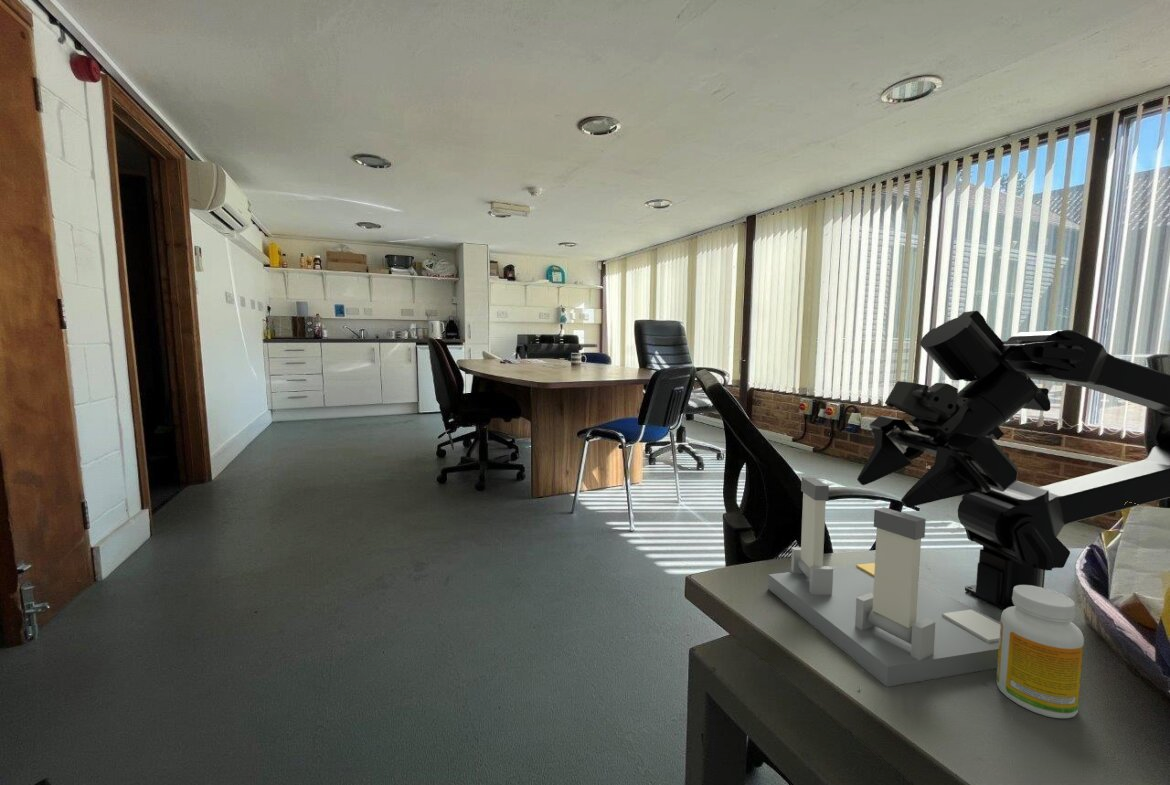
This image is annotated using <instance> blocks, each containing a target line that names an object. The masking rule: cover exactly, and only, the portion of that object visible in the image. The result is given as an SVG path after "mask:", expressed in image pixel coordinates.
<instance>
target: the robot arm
mask: <svg viewBox="0 0 1170 785" xmlns="http://www.w3.org/2000/svg"><path fill="white" fill-rule="evenodd" d="M919 345H920V347H922V349H923V350H924V351H925V352H926V354H928V356H929V357H930V358H931V359H932V360H933V362H935V363H936V365H937V366H938V367H940V370H942V371H943V372H944V374H945V375H946V376H947V377H948V378H949V379H950V380H951V381H952V380H953V381H965V382H969V383H967V384H966V385H964V386H963V388H961V390H959V389H958V388H957V387H955V386H953V385H951V384H949V383H945V382H935V383H934V384H932V385H931V386H929V385H927V384H920V383H918V382H912V381H911V382H910V381H901V380H899V381H898V380H897V381H896V383H895V384H894V386H893V387H892V389H891V392H890V393H889V395H888V397H887V398H886V400H885V401H884V404H885V405H886V406H888V407H890V408H895V409H898V410H899V411H901V412H903V413H905V414H906V415H908V416H911V417H910V418H908V421H909V422H910V423H911V425H912V426H913V427H915V428H917V429H918V430H917V431H916V432H915V430H914V429H913V428H912V427H911V426H910V425H909V423H908V422H906V420H905V419H902V418H898V417H893V416H889V415H888V416H887V415H885V416H884V415H879V416H878V417H876V418H875V419H874V420H873V421H872V422H871V423H870V424H869V428H870V429H871V433H870V434H871V435H872V436H873V438H874V441H873V442H874V446H873V448H872V451H871V453H870V455H869V457H868V459H867V461H866V462H865V464H864V466H863V467H862V470H861V471H860V473H859V474H858V476H857V479H856V480H857V482H858V483H859V484H860V485H861V486H866V485H869V484H871V483H873V482H875V481H879V480H880V479H883V478H885V477H887V476H888V475H891V474H892V473H895V472H897V471H899V470H902V469H904V468H906V467H908V466H911V465H912V462H911V461H912V460H915V459H918V458H919V457H920V456H922V455H923V454H924V453H925V452H926V453H929V454H932V455H935V458H934V464H933V465H932V466H931V468H930V469H928V470H927V471H926V473H924V474H923V475H922V476H921V477H920V478H919V479H918V480H917V482H916V483H914V485H912V486H911V487H910V488H909V489H908V491H906V493H905V494H904V495H903V497H902V498H901V499H900V501H901V503H902V504H903V505H904V506H905V507H907V508H914V507H917V506H921V505H925V504H930V503H933V502H936V501H941V500H946V499H950V498H954V497H959V496H962V497H961V500H960V502H959V504H958V508H957V518H958V520H959V524H961V525H962V526H963V527H964V531H965V534H966V538H967V540H969V541H970V542H974V543H976V544H978V545H980V546H982V548H981V549H979V555H978V556H979V560H978V562H977V568H976V569H977V570H976V579H975V580H976V581H975V582H976V583H975V584H970V585H965V586H964V590H965V592H968V593H970V594H971V595H974V596H975V597H978V598H979V599H982V600H984V601H985V602H988V603H990V604H991V605H994V606H996V607H998V608H1000V609H1002V610H1003V611H1004V610H1005V609H1006V608H1008V607H1012V606H1015V605H1014V604H1013V601H1012V596H1013V588H1014V587H1015V586H1017V585H1031V586H1037V587H1042V588H1045V575H1046V571H1053V569H1063V568H1064V567H1065V565H1066V564H1067V561H1068V559H1069V558H1070V555H1071V551H1070V549H1069V548H1067V546H1066V545H1065V544H1063V542H1062V541H1060V539H1059V538H1058V535H1059V534H1060V532H1061V531H1062V529H1063V528H1064V526H1066V525H1070V524H1073V523H1076V522H1080V521H1084V520H1087V519H1091V518H1095V517H1099V516H1103V515H1106V514H1107V515H1108V514H1112V513H1115V512H1118V511H1122V510H1127V509H1131V508H1135V507H1138V506H1139V507H1140V506H1142V505H1146V504H1150V503H1154V502H1157V501H1161V500H1166V499H1170V373H1167V372H1163V371H1159V370H1156V369H1154V368H1150V367H1147V366H1145V365H1140V364H1137V363H1135V362H1131V361H1129V360H1125V359H1122V358H1119V357H1116V356H1114V355H1112V354H1111V353H1109V352H1107V350H1106V349H1105V347H1104V345H1103V344H1102V343H1101V342H1099V341H1097V340H1096V339H1093V338H1091V337H1089V336H1087V335H1086V334H1084V333H1082V332H1079V331H1078V330H1074V329H1059V330H1040V331H1039V330H1037V331H1021V332H1017V333H1016V334H1014V335H1012V336H1010V338H1008V339H1007V340H1005V341H1004V340H1002V339H1001V338H1000V337H999V336H998V335H997V333H996V332H995V331H994V330H993V328H991V326H990V325H989V324H988V323H987V320H986V319H985V317H984V315H982V314H981V313H980V311H979V310H970V311H964V312H962V313H961V314H959V316H957V317H956V318H953V319H950V320H948V321H946V322H944V323H942V324H940V325H938V326H937V327H934V328H932V329H930V330H929V331H928V332H926V334H924V336H923V337H922V338H921V340H920V342H919ZM1033 380H1038V381H1046V382H1047V381H1048V382H1055V383H1056V382H1057V383H1065V384H1071V385H1076V386H1080V387H1082V388H1086V389H1089V390H1092V391H1096V392H1099V393H1102V394H1105V395H1107V396H1108V395H1109V396H1111V397H1114V398H1118V399H1121V400H1124V401H1126V402H1130V403H1133V404H1136V405H1140V406H1142V407H1147V408H1148V409H1152V410H1153V411H1154V413H1155V415H1156V421H1155V422H1154V426H1153V429H1152V431H1151V434H1150V435H1151V440H1152V442H1153V444H1154V447H1152V448H1151V450H1150V451H1149V452H1148V454H1147V456H1146V458H1144V459H1142V460H1138V461H1134V462H1131V463H1126V464H1123V465H1120V466H1115V467H1112V468H1108V469H1103V470H1099V471H1096V472H1092V473H1089V474H1085V475H1081V476H1077V477H1073V478H1070V479H1066V480H1061V481H1057V482H1053V483H1051V484H1046V485H1043V486H1035V485H1031V484H1028V483H1025V482H1021V481H1019V480H1018V473H1019V468H1018V466H1017V465H1016V464H1015V463H1014V462H1013V461H1012V459H1011V458H1010V457H1009V456H1008V455H1007V454H1006V453H1005V451H1004V450H1003V449H1002V448H1001V447H1000V446H999V445H998V444H997V443H996V441H997V440H998V441H999V439H1001V438H1002V437H1003V436H1004V435H1005V433H1004V432H1003V431H1002V430H1001V429H1000V428H1001V426H1003V425H1004V424H1006V423H1007V422H1008V421H1009V420H1010V419H1011V418H1012V417H1014V416H1015V415H1016V414H1018V412H1019V411H1021V410H1022V409H1025V410H1026V409H1027V410H1033V411H1041V412H1048V411H1050V410H1051V400H1050V397H1049V391H1050V390H1049V389H1048V388H1046V387H1045V388H1044V387H1038V385H1036V383H1035V382H1034V381H1033ZM995 440H996V441H995ZM1127 501H1128V502H1127ZM1125 502H1127V503H1126V504H1125ZM1129 502H1132V503H1129ZM1134 503H1136V504H1134ZM1124 504H1125V505H1124ZM1137 504H1139V505H1137Z"/></svg>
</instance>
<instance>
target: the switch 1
mask: <svg viewBox="0 0 1170 785" xmlns="http://www.w3.org/2000/svg"><path fill="white" fill-rule="evenodd" d="M800 483H801V486H800V491H801V492H802V493H803V494H802V510H801V511H802V513H801V514H802V515H801V516H802V517H801V536H800V538H801V540H800V542H801V543H800V548H801V558H800V559H799V560H798V563H797V565H798V567H799V569H800V570H801V571H802V572H803V573H804V574H805V575H806V576H807V577H808V578H809V579H810V566H824V547H825V546H824V544H825V523H826V521H825V520H826V503H827V502H826V501H829V491H830V490H829V488H830V486H829V485H828V484H827V483H825V482H823V481H821V480H819V479H817V478H816V477H814V476H813V477H812V476H811V477H810V476H809V477H808V476H807V477H805V476H803V477H802V476H801V481H800Z"/></svg>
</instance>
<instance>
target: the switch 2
mask: <svg viewBox="0 0 1170 785" xmlns="http://www.w3.org/2000/svg"><path fill="white" fill-rule="evenodd" d="M873 511H874V513H873V514H874V515H873V527H874V528H875V529H876V535H875V554H874V555H875V556H874V557H875V558H874V563H875V571H874V591H873V609H872V610H871V611H870V613H869V617H868V619H869V623H870V624H872V625H874V626H876V627H878V628H880V629H882V630H884V631H886V632H888V633H890V634H892V635H894V636H896V637H898V638H900V639H902V640H903V641H905V642H907V643H909V644H911V640H912V624H914V623H916V617H917V600H918V583H919V580H920V578H919V577H920V563H921V561H920V560H921V546H922V539H923V538H925V537H926V534H925V533H926V521H927V520H926V518H924V517H923V518H922V517H919V516H915V515H913V514H908V513H906V512H902V511H899V510H894V509H891V508H887V507H880V508H879V507H878V508H876V509H874V510H873Z"/></svg>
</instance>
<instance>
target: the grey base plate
mask: <svg viewBox="0 0 1170 785" xmlns="http://www.w3.org/2000/svg"><path fill="white" fill-rule="evenodd" d="M800 558H801V546H799V547H798V546H797V547H795V546H793V547H791V564H790V565H791V566H790V567H791V568H790V571H789V572H788V571H787V572H779V573H771V574H770V573H769V574H768V590H769V591H770V592H771V593H773V595H775V596H776V597H778V599H780V600H781V602H784V603H785V604H786V605H787V606H788V607H789V608H791V609H792V610H793V611H795V612H796V613H797V614H798V615H800V617H801V618H803V619H804V620H806V622H808V624H810V625H811V626H813V628H815V629H816V630H818V631H819V633H821V634H822V635H824V637H826V638H827V639H828V640H830V642H832V643H833V644H834V645H835V646H836V647H838V648H839V650H841V651H842V652H843V653H845V654H846V655H848V656H849V657H850V658H851V659H852V660H853V661H855V663H857V664H859V666H861V667H862V668H863V669H864V670H866V671H867V672H868V673H869V674H870V675H872V676H873V677H874V678H875V679H876V680H877V681H879V682H880V683H881V684H882V685H884V686H885V687H887V688H888V687H893V686H900V685H905V684H906V685H907V684H911V683H916V682H924V681H929V680H934V679H939V678H941V679H942V678H945V677H947V678H948V677H951V676H959V675H964V674H965V675H966V674H971V673H974V672H981V671H989V670H994V669H997V662H998V650H999V637H1000V622H1001V621H999V620H996V619H994V618H992V617H991V616H988V615H986V614H984V613H983V612H982V611H979V610H977V609H975V608H973V607H971V606H969V605H967V604H966V603H964V602H961V601H960V600H958V599H956V598H954V597H952V596H950V595H948V594H946V593H945V592H943V591H942V590H938V589H936V588H935V587H933V586H931V585H929V584H928V583H925V582H924V581H921V580H920V579H919V583H918V600H917V617H916V623H914V624H912V640H911V644H909V643H907V642H905V641H903V640H902V639H900V638H898V637H896V636H894V635H892V634H890V633H888V632H886V631H884V630H882V629H880V628H878V627H876V626H874V625H872V624H870V623H869V619H868V617H869V613H870V611H871V610H872V609H873V591H874V571H875V562H871V563H862V564H861V563H860V564H855V565H854V564H853V565H844V566H835V567H834V566H833V567H832V566H828V565H826V566H825V565H823V566H810V579H809V578H808V577H807V576H806V575H805V574H804V573H803V572H802V571H801V570H800V569H799V567H798V565H797V563H798V560H799V559H800Z"/></svg>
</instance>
